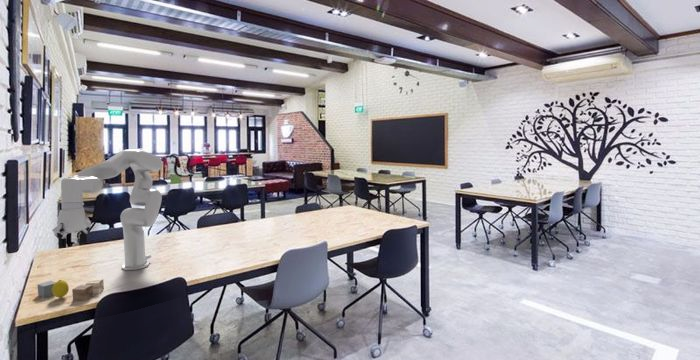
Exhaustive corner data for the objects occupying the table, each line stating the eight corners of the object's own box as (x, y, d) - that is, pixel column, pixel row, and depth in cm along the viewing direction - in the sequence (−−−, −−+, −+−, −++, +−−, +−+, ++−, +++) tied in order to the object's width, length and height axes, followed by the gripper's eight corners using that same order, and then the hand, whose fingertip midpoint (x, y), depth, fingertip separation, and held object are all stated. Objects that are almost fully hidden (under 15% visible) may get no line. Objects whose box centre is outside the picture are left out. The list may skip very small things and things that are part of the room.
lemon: (51, 298, 158) (49, 280, 157) (66, 294, 163) (65, 276, 162) (55, 302, 155) (53, 283, 154) (71, 297, 159) (69, 279, 158)
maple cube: (91, 290, 168) (90, 279, 167) (103, 289, 169) (103, 278, 168) (86, 294, 163) (85, 283, 162) (99, 293, 164) (98, 282, 164)
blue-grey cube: (51, 291, 166) (50, 280, 165) (57, 293, 164) (57, 282, 163) (38, 295, 161) (37, 284, 161) (44, 297, 159) (43, 286, 159)
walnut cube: (81, 295, 161) (81, 284, 161) (93, 296, 161) (92, 284, 161) (72, 300, 156) (72, 289, 156) (84, 300, 156) (84, 289, 156)
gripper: (82, 203, 172) (83, 240, 173) (45, 208, 155) (46, 249, 156) (96, 204, 170) (97, 241, 171) (60, 208, 153) (61, 250, 154)
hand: (73, 245), depth 163 cm, fingers open, 9 cm apart
